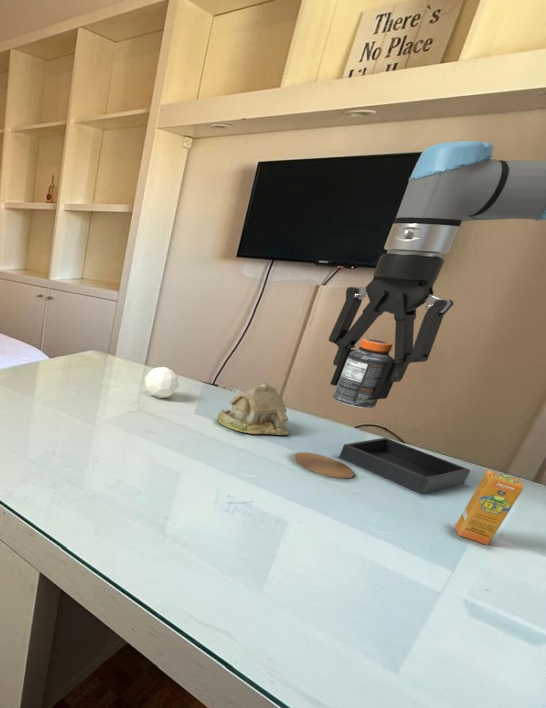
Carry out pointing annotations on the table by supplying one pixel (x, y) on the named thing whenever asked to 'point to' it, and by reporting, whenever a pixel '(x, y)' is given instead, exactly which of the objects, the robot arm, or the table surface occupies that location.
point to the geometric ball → (161, 382)
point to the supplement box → (488, 507)
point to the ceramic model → (256, 412)
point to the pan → (404, 465)
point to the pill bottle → (363, 373)
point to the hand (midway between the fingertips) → (357, 390)
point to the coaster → (323, 465)
